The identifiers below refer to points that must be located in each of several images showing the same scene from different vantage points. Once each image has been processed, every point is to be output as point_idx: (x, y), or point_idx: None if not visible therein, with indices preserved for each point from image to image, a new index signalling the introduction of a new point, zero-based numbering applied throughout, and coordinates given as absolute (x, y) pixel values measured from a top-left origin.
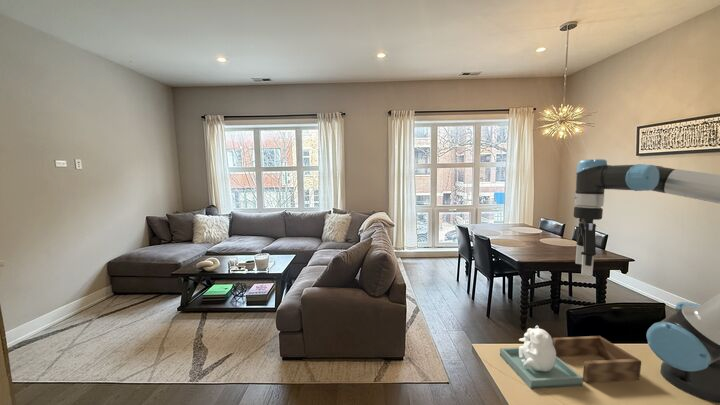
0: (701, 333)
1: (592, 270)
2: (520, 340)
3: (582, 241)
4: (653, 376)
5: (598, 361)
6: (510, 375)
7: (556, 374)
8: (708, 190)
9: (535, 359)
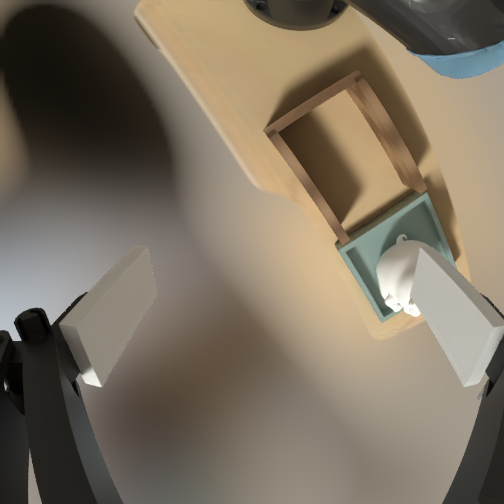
0: None
1: (449, 264)
2: (400, 309)
3: (74, 401)
4: (312, 46)
5: (409, 164)
6: None
7: (412, 229)
8: None
9: None
